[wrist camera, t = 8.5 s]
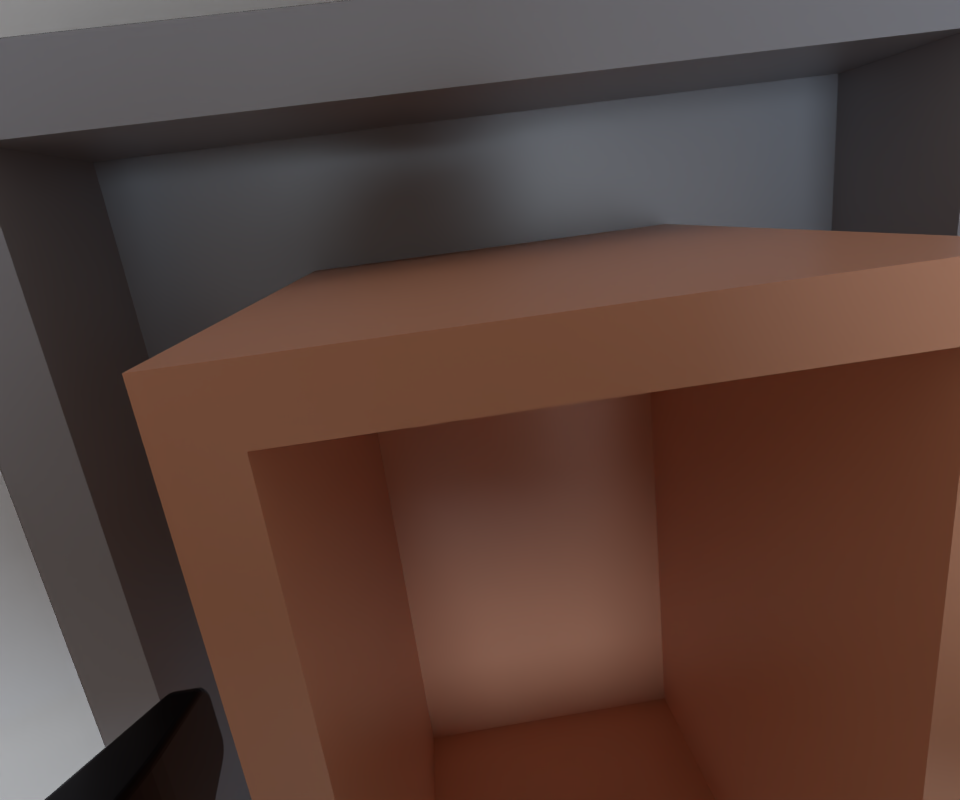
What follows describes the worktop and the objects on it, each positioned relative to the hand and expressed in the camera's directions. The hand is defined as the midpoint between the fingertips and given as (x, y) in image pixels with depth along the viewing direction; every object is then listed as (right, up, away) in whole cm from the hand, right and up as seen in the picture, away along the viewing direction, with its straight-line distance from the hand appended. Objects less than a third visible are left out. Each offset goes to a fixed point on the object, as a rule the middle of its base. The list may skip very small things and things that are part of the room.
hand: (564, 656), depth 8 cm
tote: (0, +1, +4) cm, 4 cm away
